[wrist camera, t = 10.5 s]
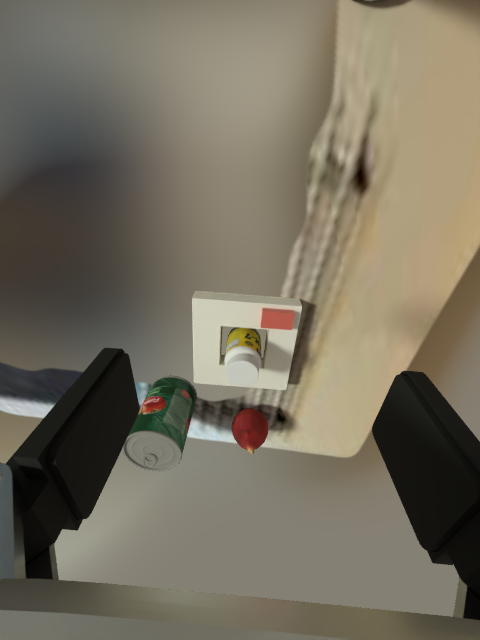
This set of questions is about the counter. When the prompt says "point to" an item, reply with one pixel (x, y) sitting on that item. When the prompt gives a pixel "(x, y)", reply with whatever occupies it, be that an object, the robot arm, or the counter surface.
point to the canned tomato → (161, 425)
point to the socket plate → (244, 313)
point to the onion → (250, 429)
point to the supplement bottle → (243, 356)
